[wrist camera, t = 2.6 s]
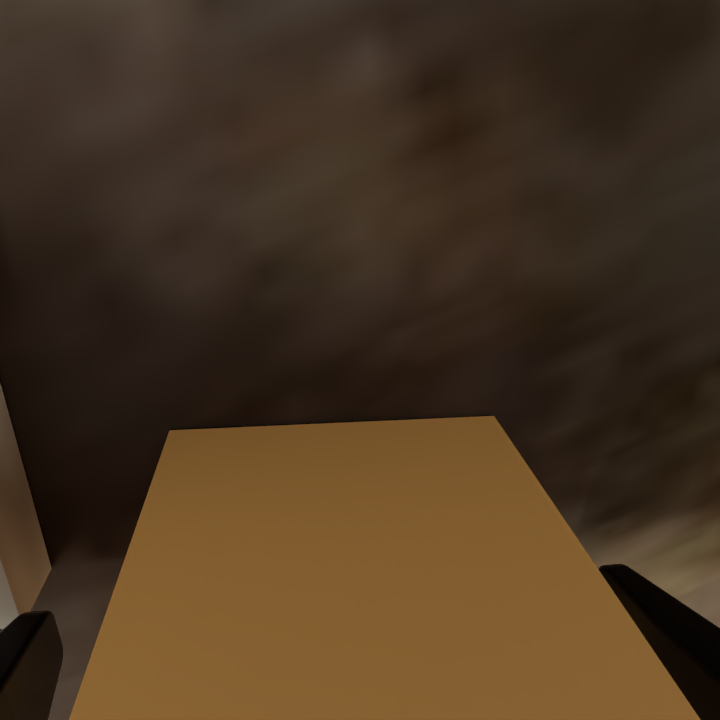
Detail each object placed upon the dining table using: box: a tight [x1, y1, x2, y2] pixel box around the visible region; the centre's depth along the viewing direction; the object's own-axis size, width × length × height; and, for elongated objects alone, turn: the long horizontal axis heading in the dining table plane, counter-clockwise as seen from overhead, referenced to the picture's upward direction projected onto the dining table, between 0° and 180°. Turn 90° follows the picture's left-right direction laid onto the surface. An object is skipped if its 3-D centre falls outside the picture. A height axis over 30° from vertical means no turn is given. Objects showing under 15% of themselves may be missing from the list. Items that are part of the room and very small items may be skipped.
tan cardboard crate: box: [69, 416, 700, 720], centre depth 7 cm, size 5×5×6 cm
